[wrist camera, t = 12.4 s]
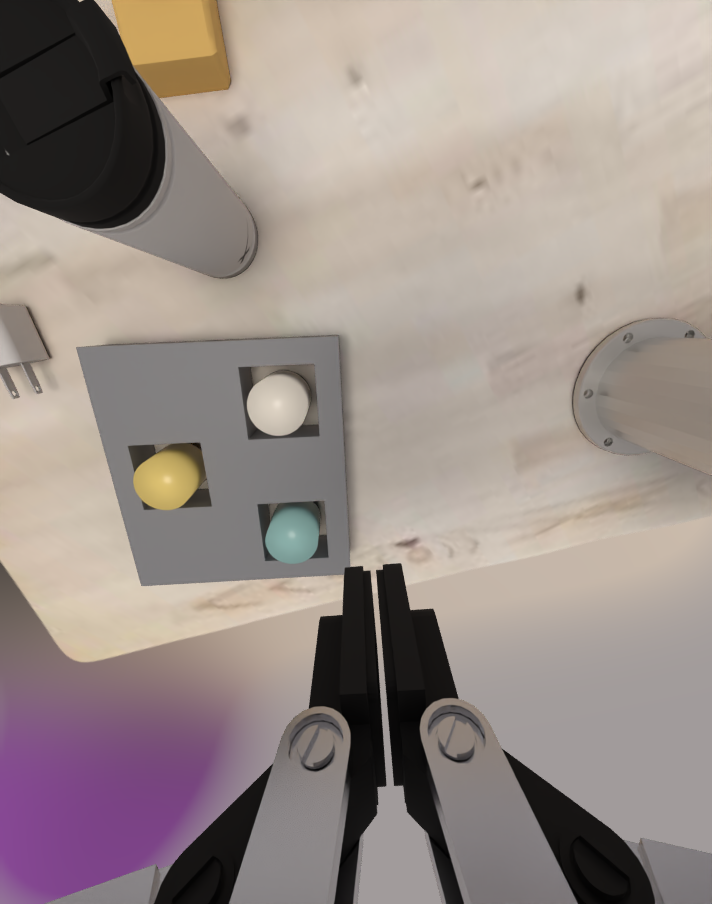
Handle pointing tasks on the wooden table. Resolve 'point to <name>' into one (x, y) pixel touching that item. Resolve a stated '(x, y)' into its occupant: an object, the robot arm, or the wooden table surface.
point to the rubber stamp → (174, 44)
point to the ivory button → (279, 403)
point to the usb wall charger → (19, 345)
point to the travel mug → (107, 143)
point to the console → (219, 454)
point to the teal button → (293, 532)
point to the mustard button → (170, 476)
